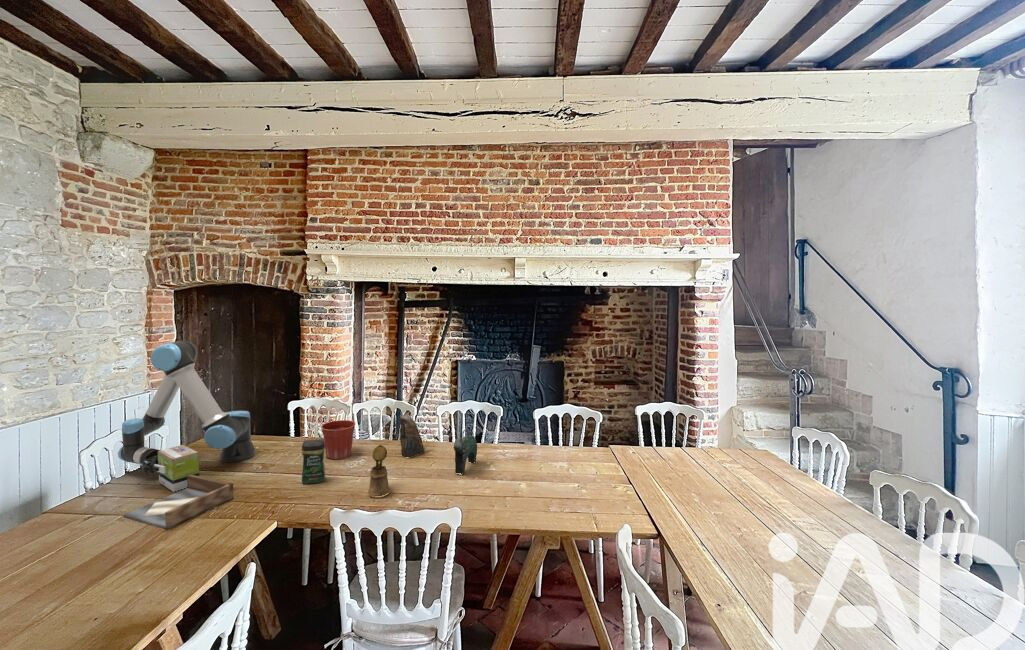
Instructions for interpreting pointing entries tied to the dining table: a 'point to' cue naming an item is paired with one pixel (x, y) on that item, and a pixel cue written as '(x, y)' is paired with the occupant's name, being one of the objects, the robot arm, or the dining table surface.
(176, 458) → the tea box
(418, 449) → the owl
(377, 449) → the brown bell
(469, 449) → the ceramic cat
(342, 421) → the flower pot
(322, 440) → the coffee jar
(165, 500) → the wooden tray
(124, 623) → the dining table surface
